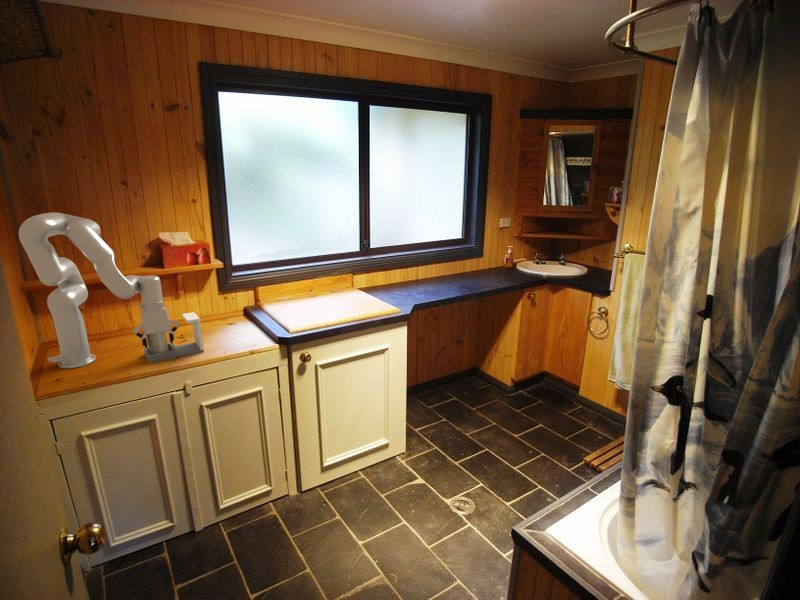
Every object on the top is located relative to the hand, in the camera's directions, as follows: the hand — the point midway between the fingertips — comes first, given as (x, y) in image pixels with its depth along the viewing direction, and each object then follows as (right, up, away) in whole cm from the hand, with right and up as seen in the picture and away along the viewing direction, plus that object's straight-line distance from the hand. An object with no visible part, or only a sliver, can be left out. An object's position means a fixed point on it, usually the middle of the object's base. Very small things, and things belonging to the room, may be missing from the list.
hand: (158, 344), depth 191 cm
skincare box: (0, -5, +1) cm, 6 cm away
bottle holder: (+4, -4, +4) cm, 7 cm away
